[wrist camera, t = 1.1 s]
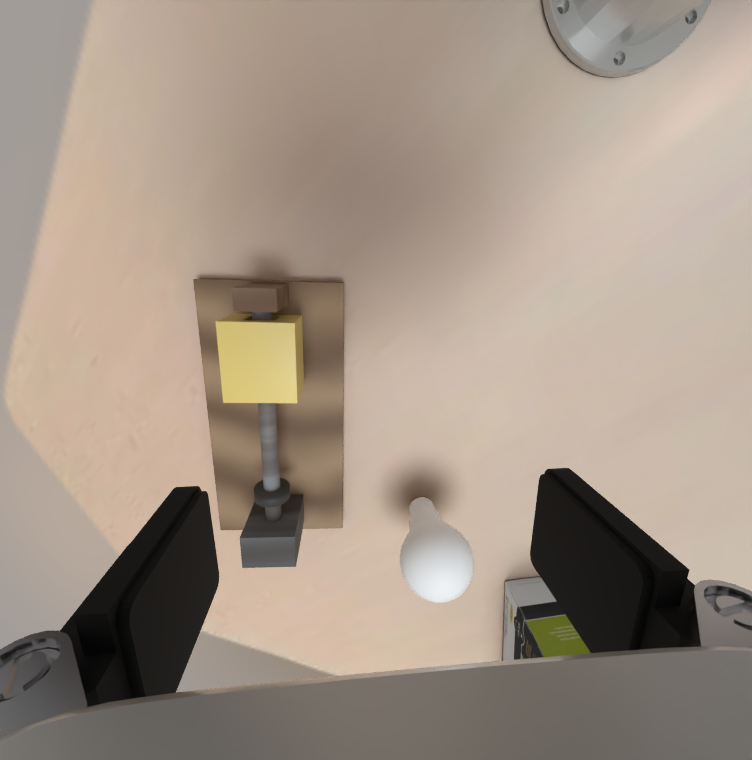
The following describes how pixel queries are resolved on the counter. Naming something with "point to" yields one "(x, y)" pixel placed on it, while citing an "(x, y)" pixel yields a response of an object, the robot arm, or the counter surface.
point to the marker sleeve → (261, 358)
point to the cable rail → (277, 422)
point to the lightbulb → (435, 555)
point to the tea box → (536, 623)
